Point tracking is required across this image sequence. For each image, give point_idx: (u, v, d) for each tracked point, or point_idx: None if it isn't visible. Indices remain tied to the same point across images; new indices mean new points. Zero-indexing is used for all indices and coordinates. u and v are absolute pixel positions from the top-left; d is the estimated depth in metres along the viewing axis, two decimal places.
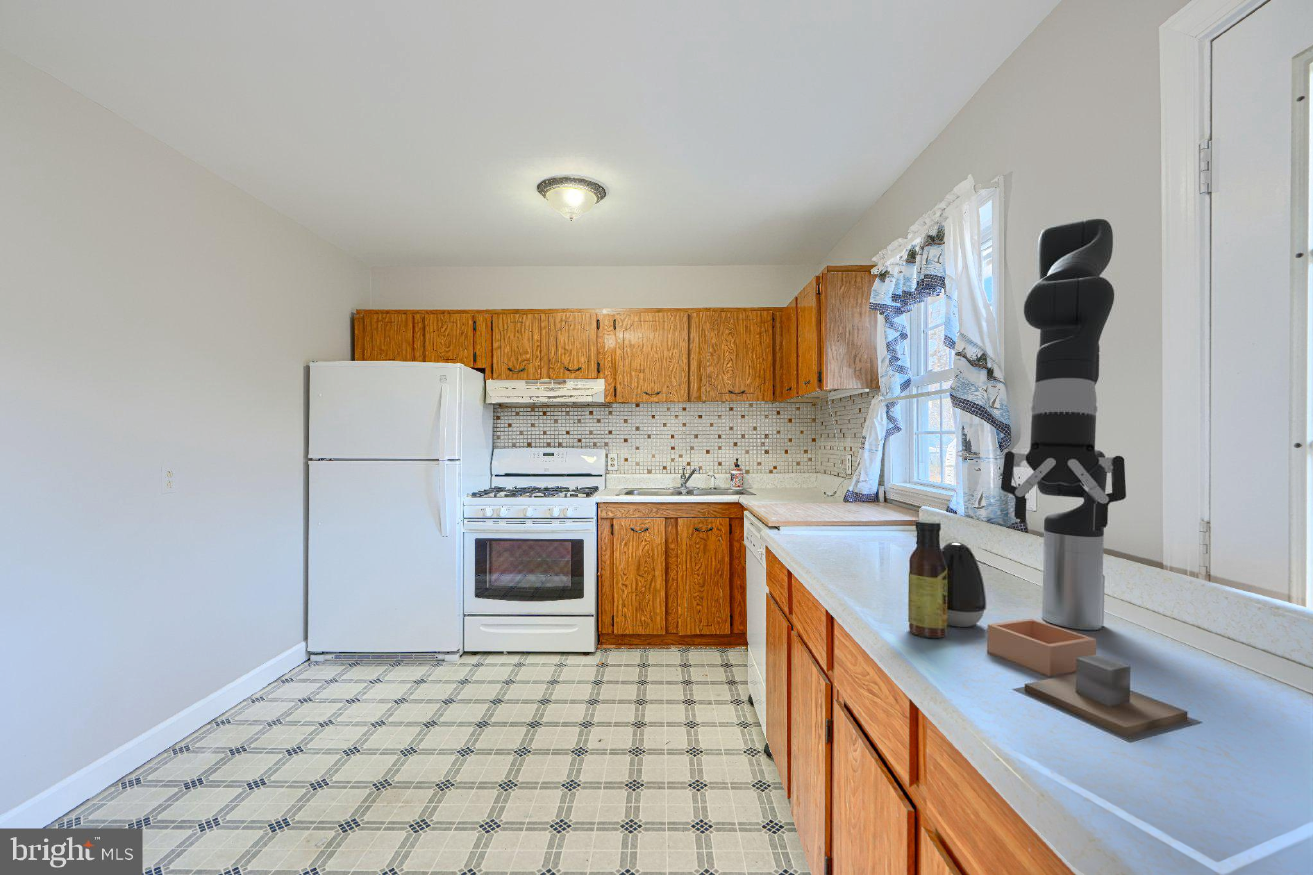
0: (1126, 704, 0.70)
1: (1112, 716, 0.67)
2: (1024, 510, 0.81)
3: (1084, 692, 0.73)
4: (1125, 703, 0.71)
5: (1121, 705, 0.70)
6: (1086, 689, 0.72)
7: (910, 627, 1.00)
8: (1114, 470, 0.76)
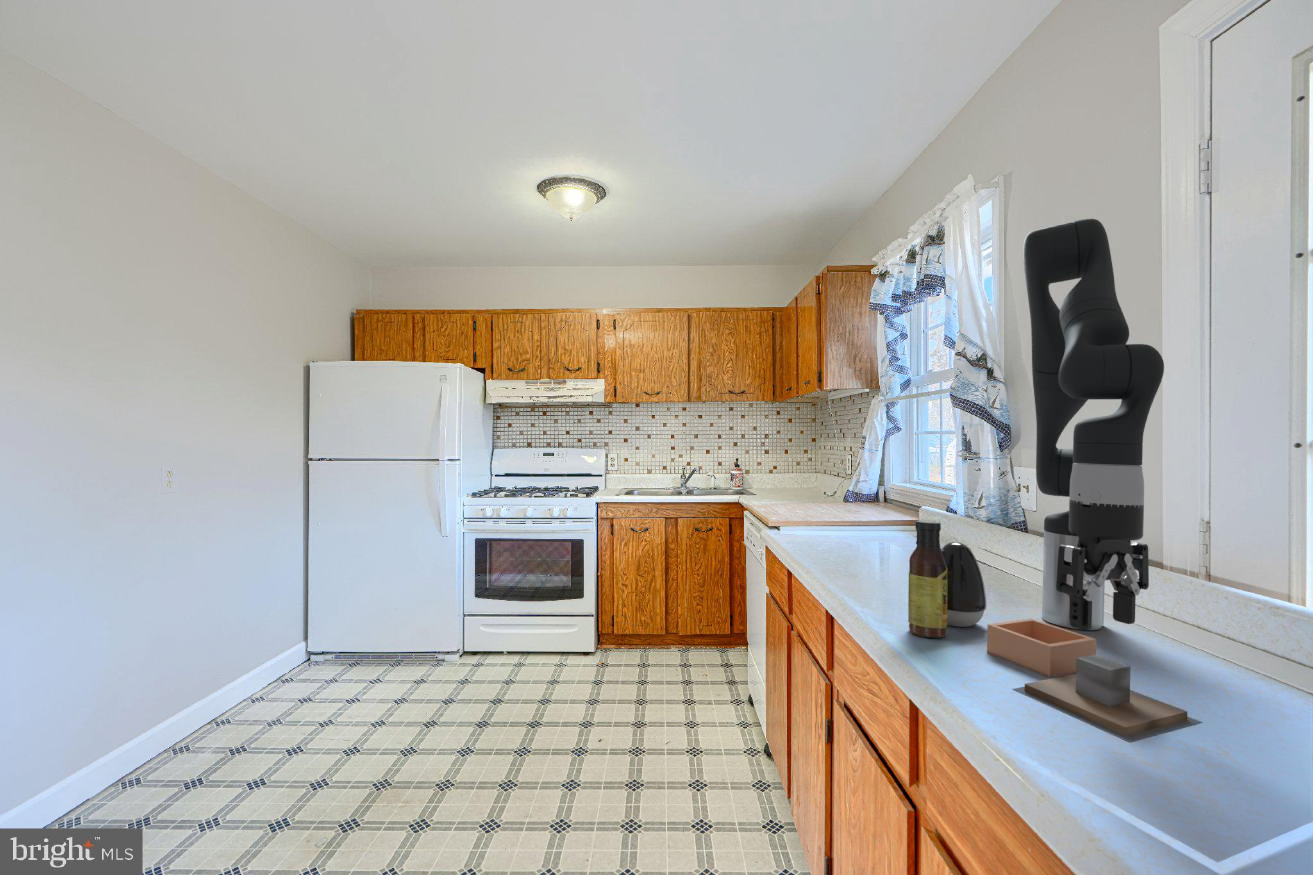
0: (1126, 704, 0.70)
1: (1112, 716, 0.67)
2: (1090, 615, 0.70)
3: (1084, 692, 0.73)
4: (1125, 703, 0.71)
5: (1121, 705, 0.70)
6: (1086, 689, 0.72)
7: (910, 627, 1.00)
8: (1143, 559, 0.73)
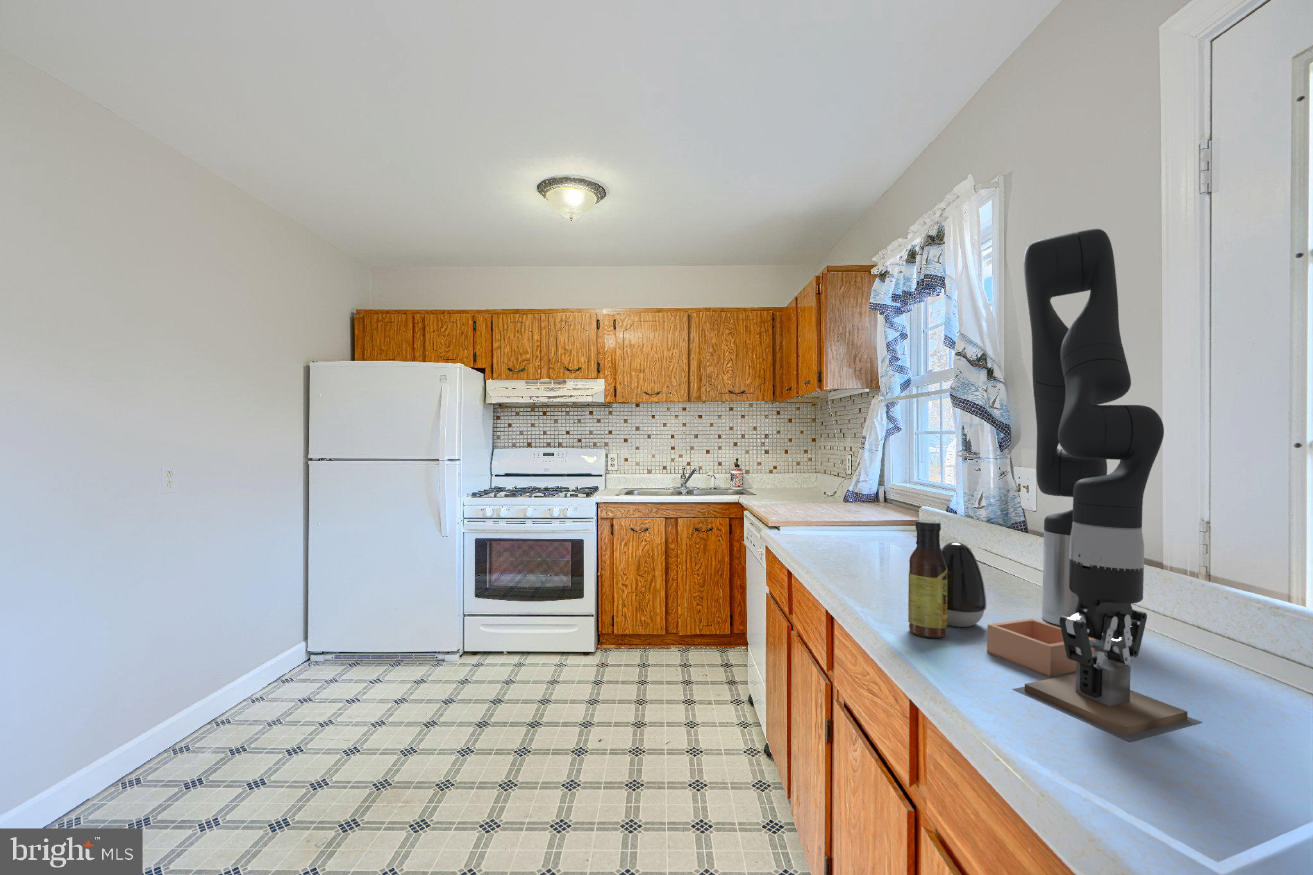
0: (1126, 704, 0.70)
1: (1112, 716, 0.67)
2: (1101, 683, 0.71)
3: None
4: (1125, 703, 0.71)
5: (1121, 705, 0.70)
6: None
7: (910, 627, 1.00)
8: (1139, 626, 0.73)
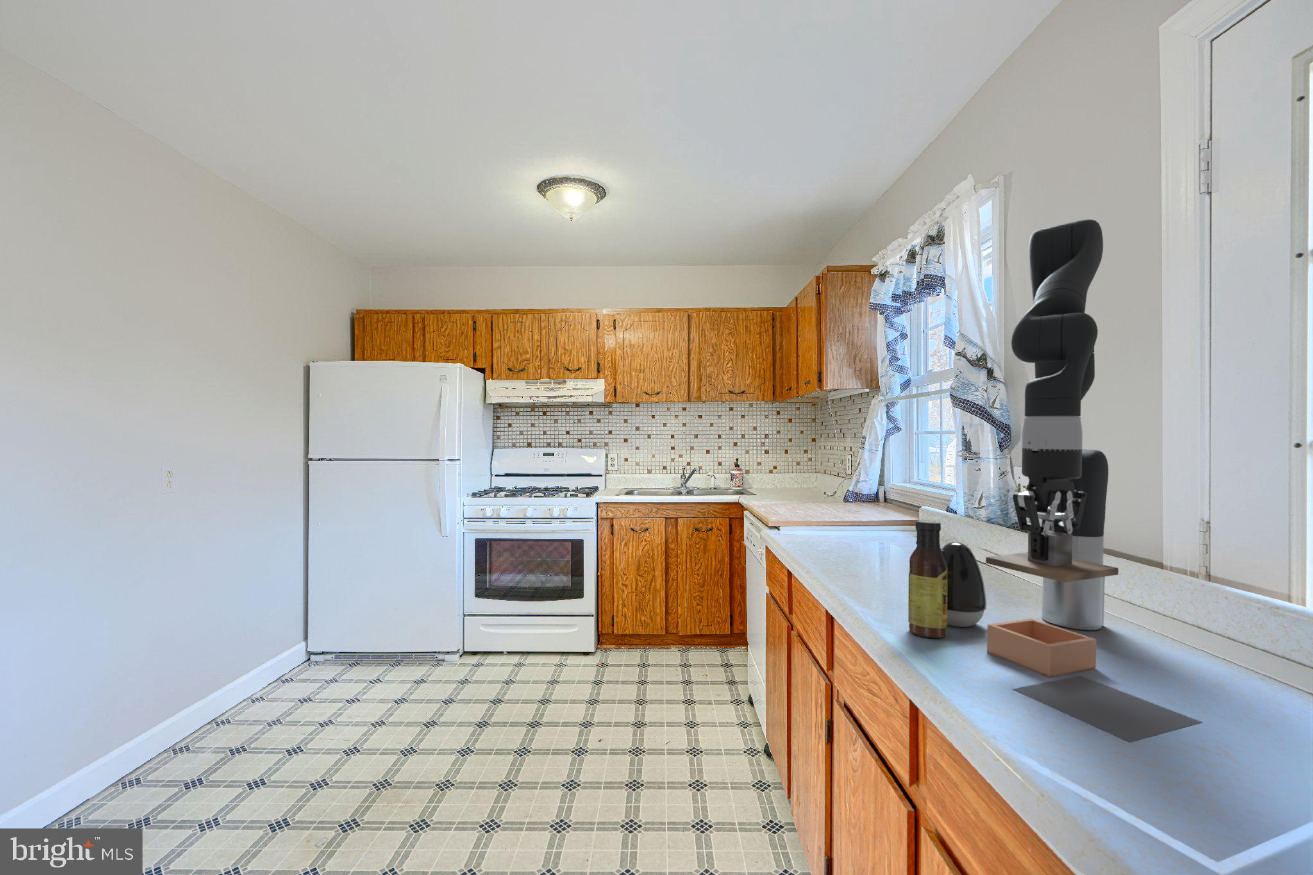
0: (1068, 565, 0.84)
1: (1056, 570, 0.81)
2: (1047, 548, 0.84)
3: (1034, 559, 0.86)
4: (1068, 564, 0.84)
5: (1064, 565, 0.84)
6: None
7: (910, 627, 1.00)
8: (1080, 503, 0.87)
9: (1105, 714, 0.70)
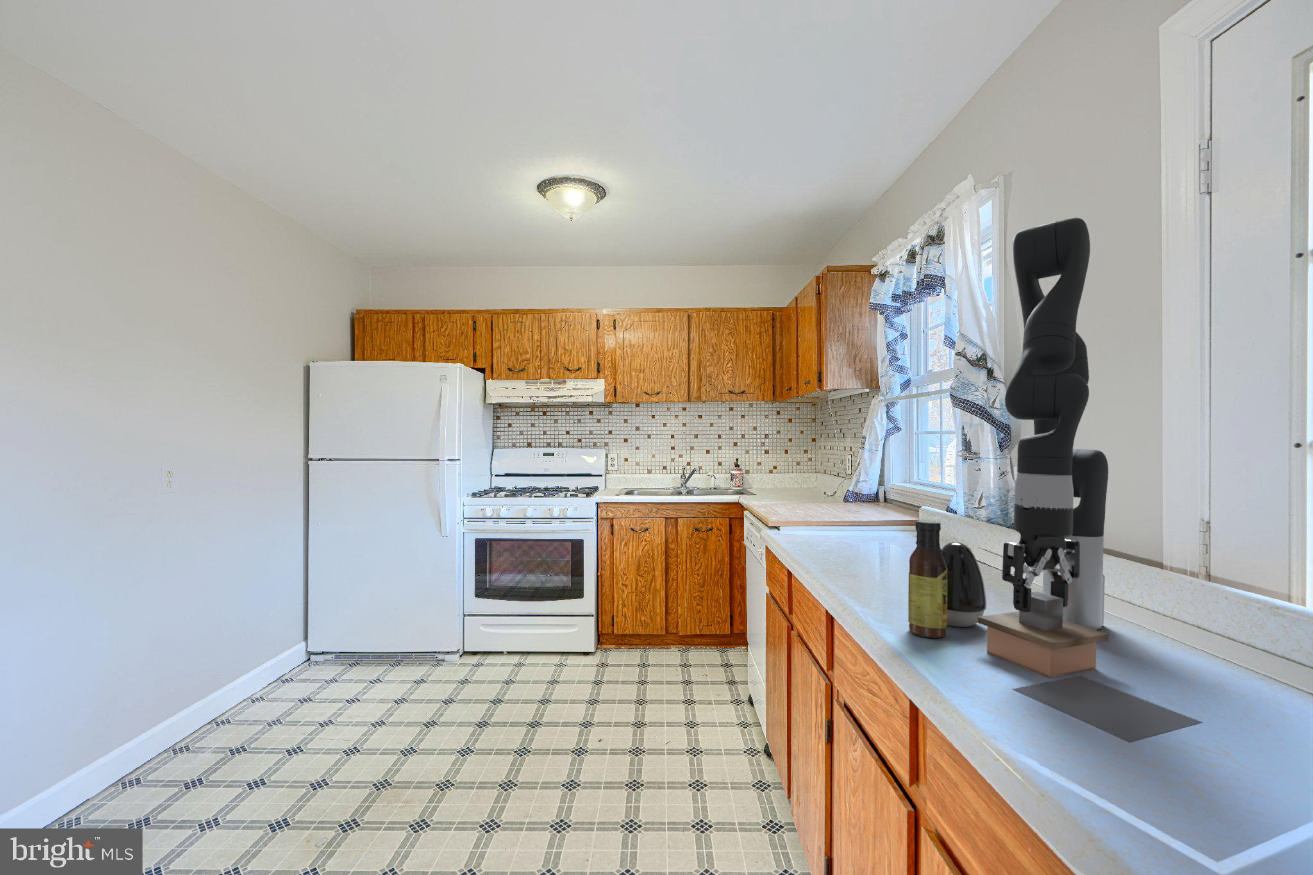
0: (1058, 629, 0.85)
1: (1045, 636, 0.82)
2: (1030, 600, 0.85)
3: (1025, 621, 0.87)
4: (1058, 629, 0.85)
5: (1054, 630, 0.85)
6: (1027, 618, 0.87)
7: (910, 627, 1.00)
8: (1075, 553, 0.88)
9: (1105, 714, 0.70)
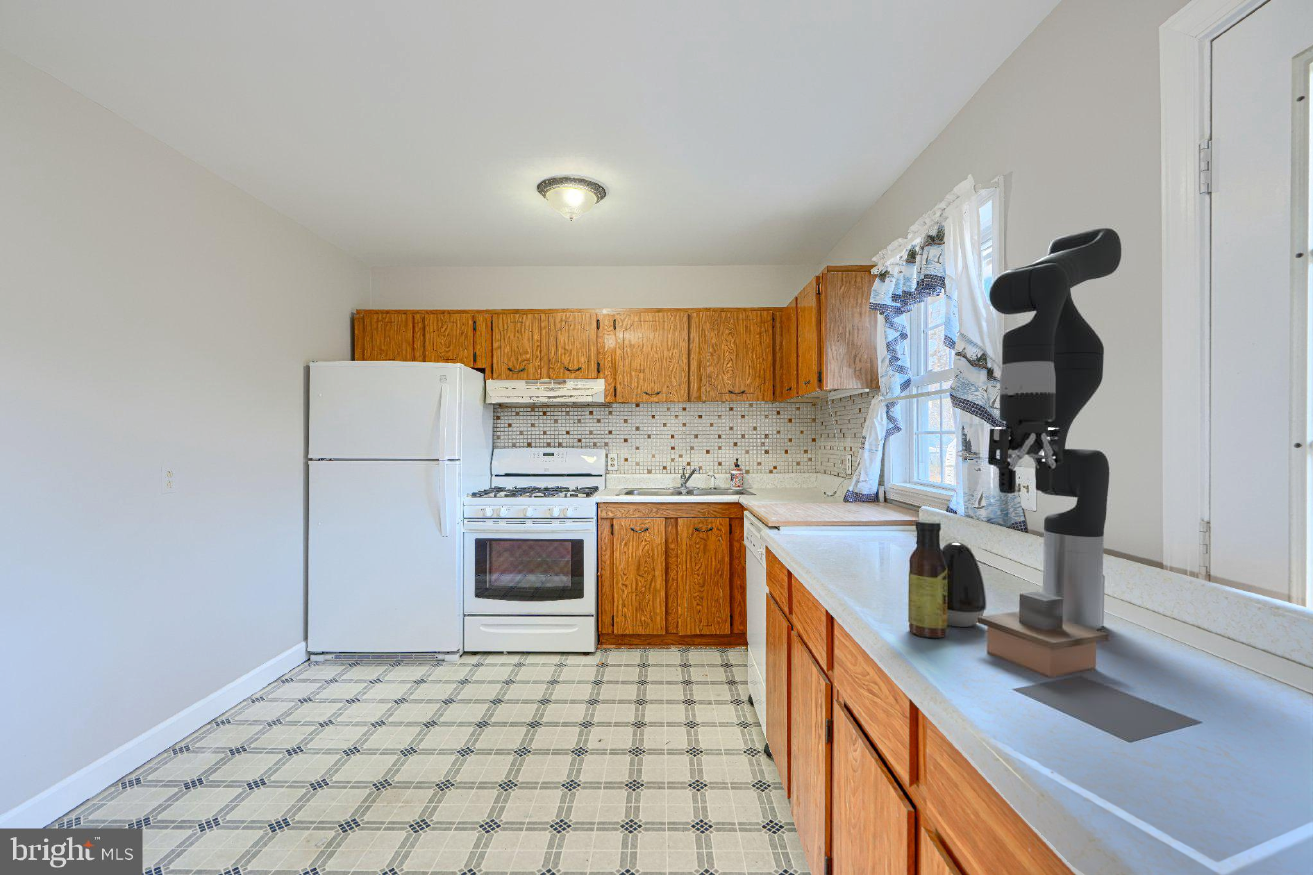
0: (1058, 629, 0.85)
1: (1045, 636, 0.82)
2: (1014, 481, 0.89)
3: (1025, 621, 0.87)
4: (1058, 629, 0.85)
5: (1054, 630, 0.85)
6: (1027, 618, 0.87)
7: (910, 627, 1.00)
8: (1058, 440, 0.92)
9: (1105, 714, 0.70)
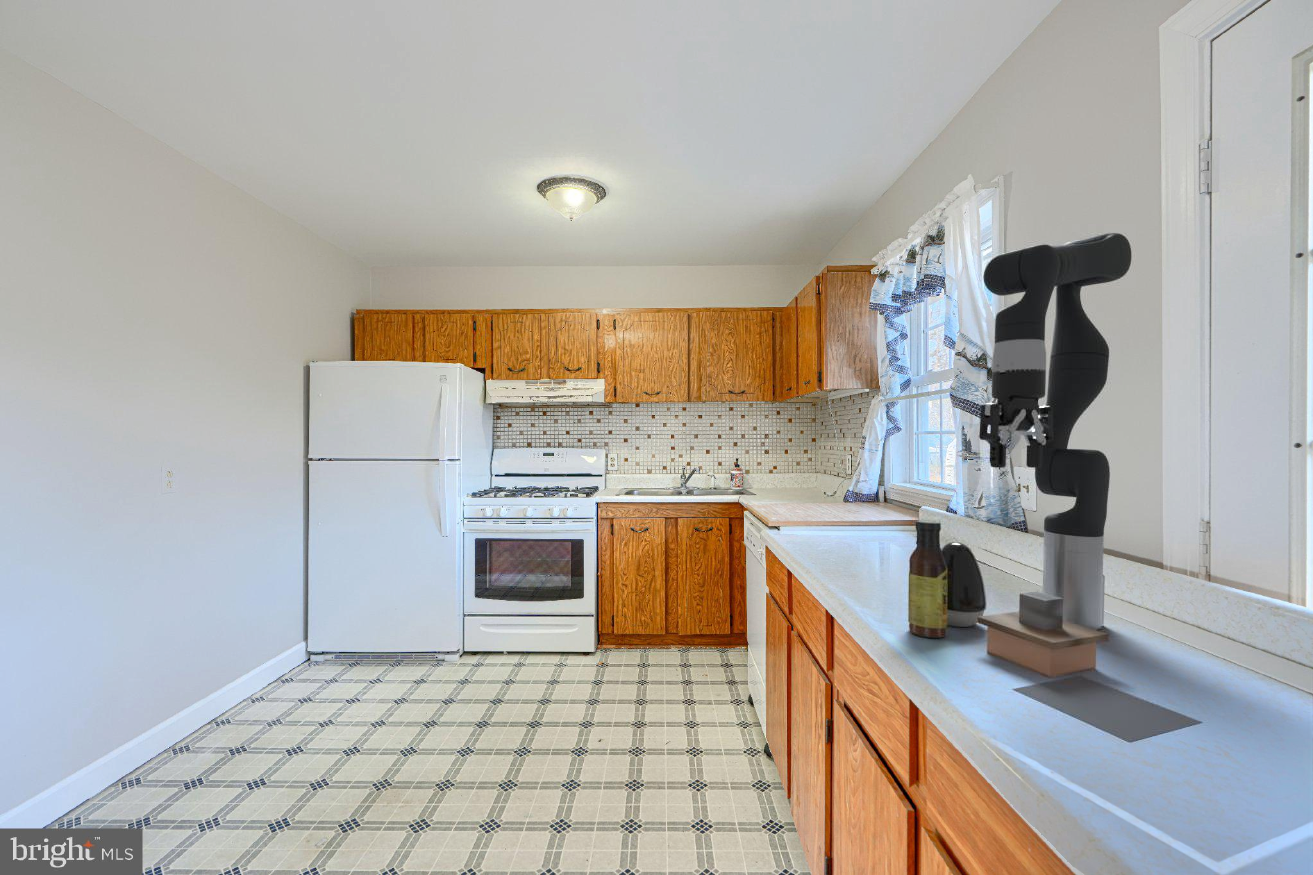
0: (1058, 629, 0.85)
1: (1045, 636, 0.82)
2: (1005, 456, 0.91)
3: (1025, 621, 0.87)
4: (1058, 629, 0.85)
5: (1054, 630, 0.85)
6: (1027, 618, 0.87)
7: (910, 627, 1.00)
8: (1048, 417, 0.94)
9: (1105, 714, 0.70)
